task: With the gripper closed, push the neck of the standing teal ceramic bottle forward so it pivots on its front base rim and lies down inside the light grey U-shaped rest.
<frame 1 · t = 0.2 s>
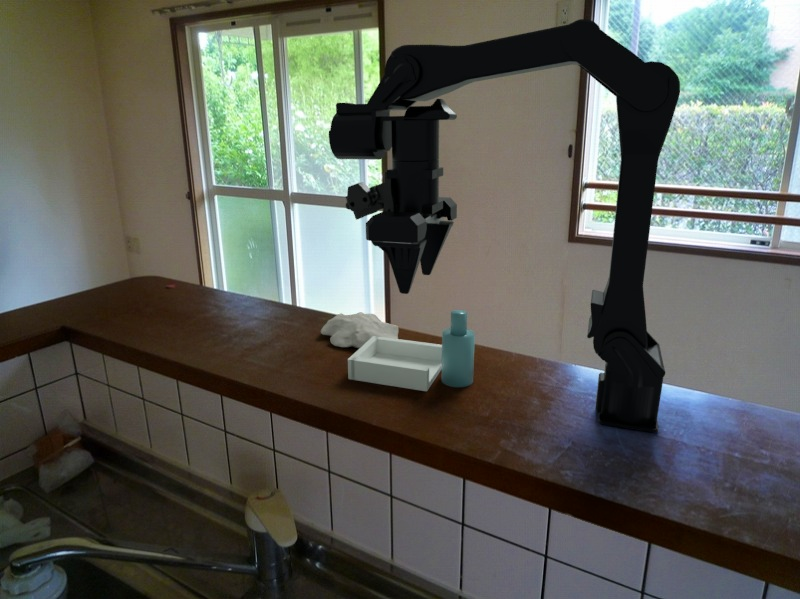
hand: (416, 283, 72), 14 cm above the worktop, tool pointing down, fingers open, 9 cm apart
u rest: (399, 371, 80), on the worktop
decorative stone: (363, 342, 92), on the worktop
bottle: (457, 380, 77), on the worktop
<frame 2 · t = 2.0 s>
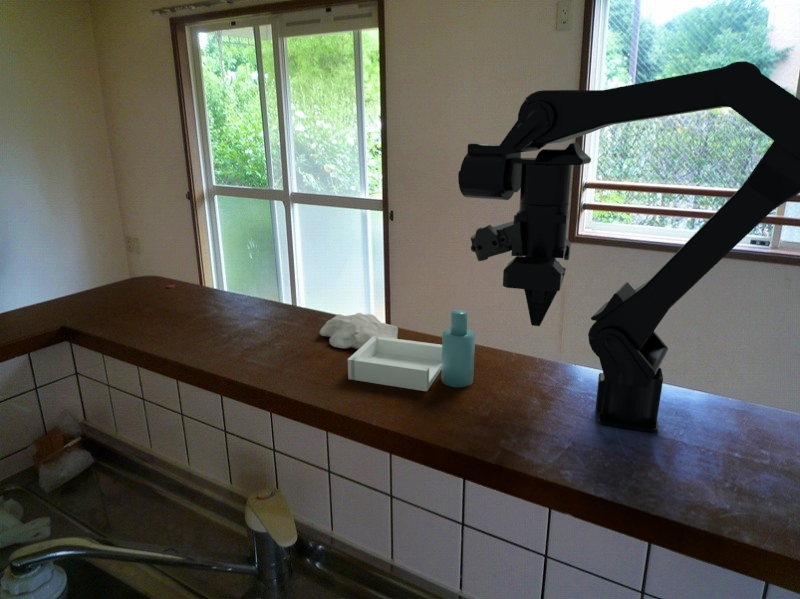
hand: (535, 325, 71), 9 cm above the worktop, tool pointing down, fingers closed
nothing on the worktop moved.
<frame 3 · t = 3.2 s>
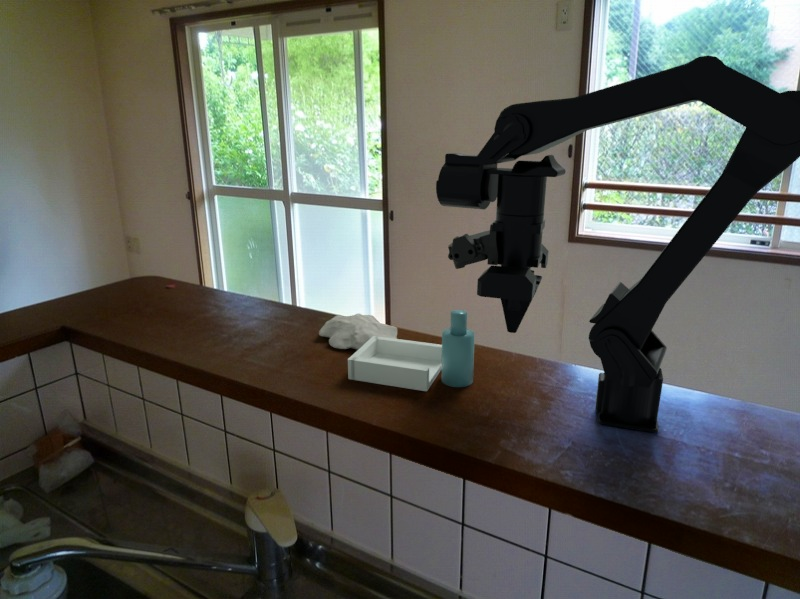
hand: (512, 331, 72), 8 cm above the worktop, tool pointing down, fingers closed
nothing on the worktop moved.
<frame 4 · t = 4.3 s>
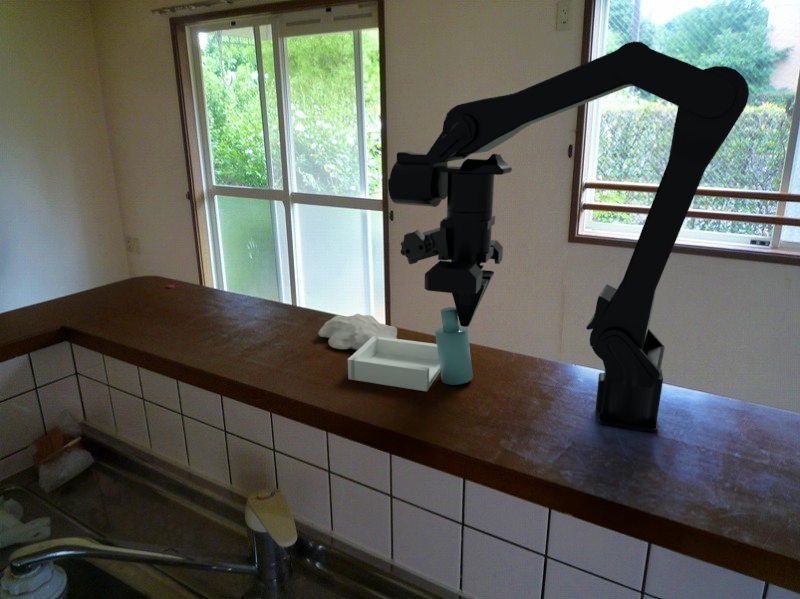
hand: (464, 325, 74), 8 cm above the worktop, tool pointing down, fingers closed
bottle: (457, 378, 77), on the worktop, tilted 8°
everything else where it was.
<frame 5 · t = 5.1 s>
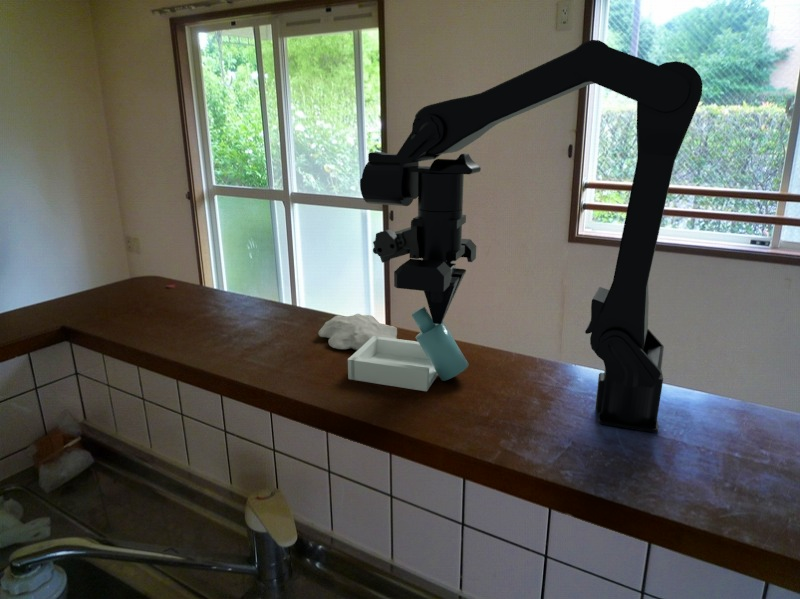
hand: (437, 322, 76), 8 cm above the worktop, tool pointing down, fingers closed, pressing on bottle
bottle: (454, 371, 77), point 1 cm above the worktop, tilted 33°, touching gripper
everything else where it was.
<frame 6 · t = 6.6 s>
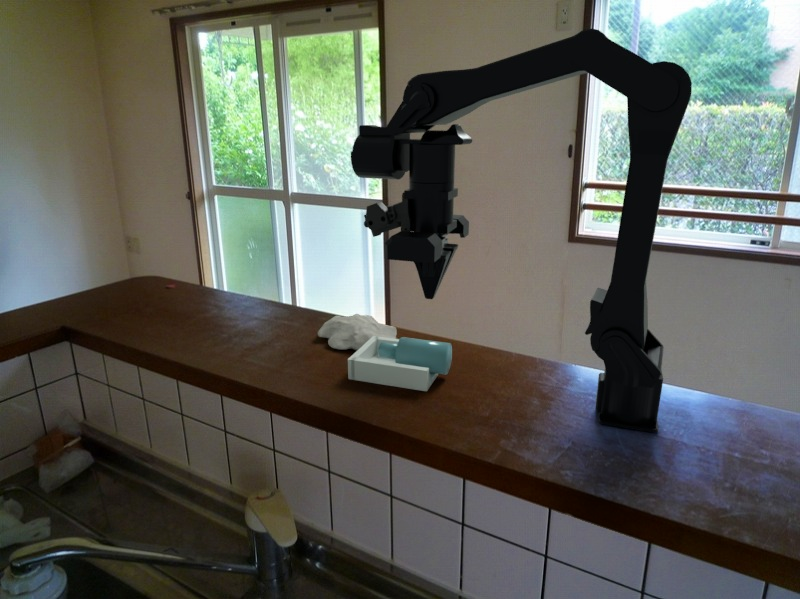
hand: (429, 298, 75), 12 cm above the worktop, tool pointing down, fingers closed
bottle: (448, 358, 77), point 3 cm above the worktop, tilted 90°, touching u rest
everything else where it was.
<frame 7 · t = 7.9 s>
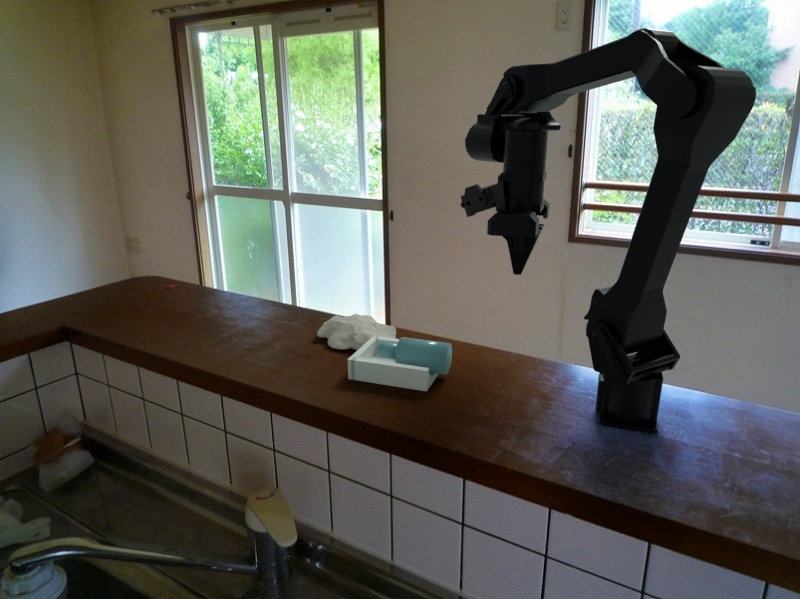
hand: (517, 274, 81), 13 cm above the worktop, tool pointing down, fingers closed
nothing on the worktop moved.
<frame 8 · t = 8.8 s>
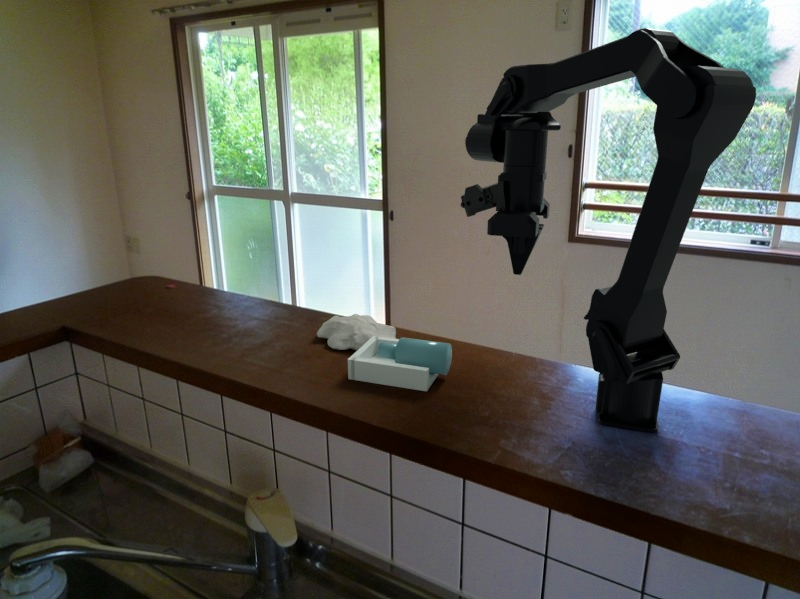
hand: (517, 274, 81), 13 cm above the worktop, tool pointing down, fingers closed
nothing on the worktop moved.
at the end: bottle tilted 90°; bottle touching u rest; bottle inside the target area (2.1 cm from its centre), point 3.0 cm above the worktop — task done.
